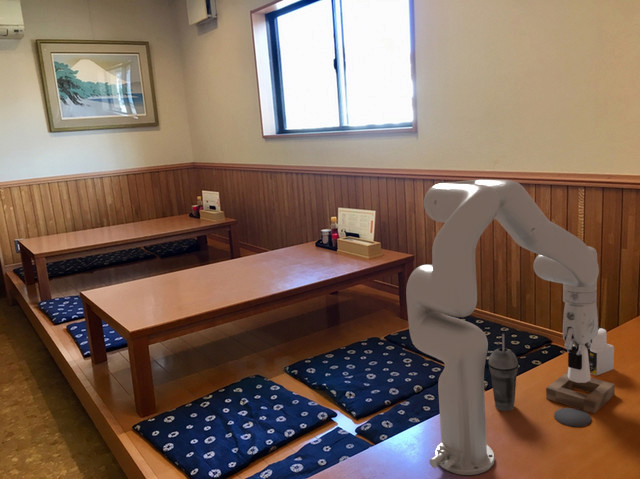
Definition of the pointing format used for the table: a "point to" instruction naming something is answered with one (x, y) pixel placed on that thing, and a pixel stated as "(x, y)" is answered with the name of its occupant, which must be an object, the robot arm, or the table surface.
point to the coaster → (572, 417)
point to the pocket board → (591, 402)
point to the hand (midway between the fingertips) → (579, 364)
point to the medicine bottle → (601, 354)
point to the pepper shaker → (584, 373)
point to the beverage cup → (503, 377)
